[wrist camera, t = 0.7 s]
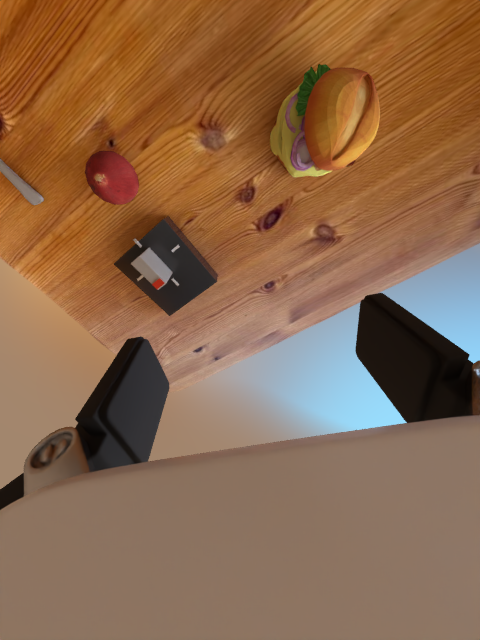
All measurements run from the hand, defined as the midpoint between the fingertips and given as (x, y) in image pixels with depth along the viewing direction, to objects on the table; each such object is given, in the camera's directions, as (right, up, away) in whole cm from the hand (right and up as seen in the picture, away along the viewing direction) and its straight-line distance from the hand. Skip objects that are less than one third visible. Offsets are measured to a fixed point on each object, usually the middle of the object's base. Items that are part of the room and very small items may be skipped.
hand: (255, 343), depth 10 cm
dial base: (-13, +10, +29) cm, 33 cm away
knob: (-14, +10, +25) cm, 31 cm away
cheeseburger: (+9, +26, +20) cm, 34 cm away
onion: (-17, +21, +22) cm, 35 cm away
